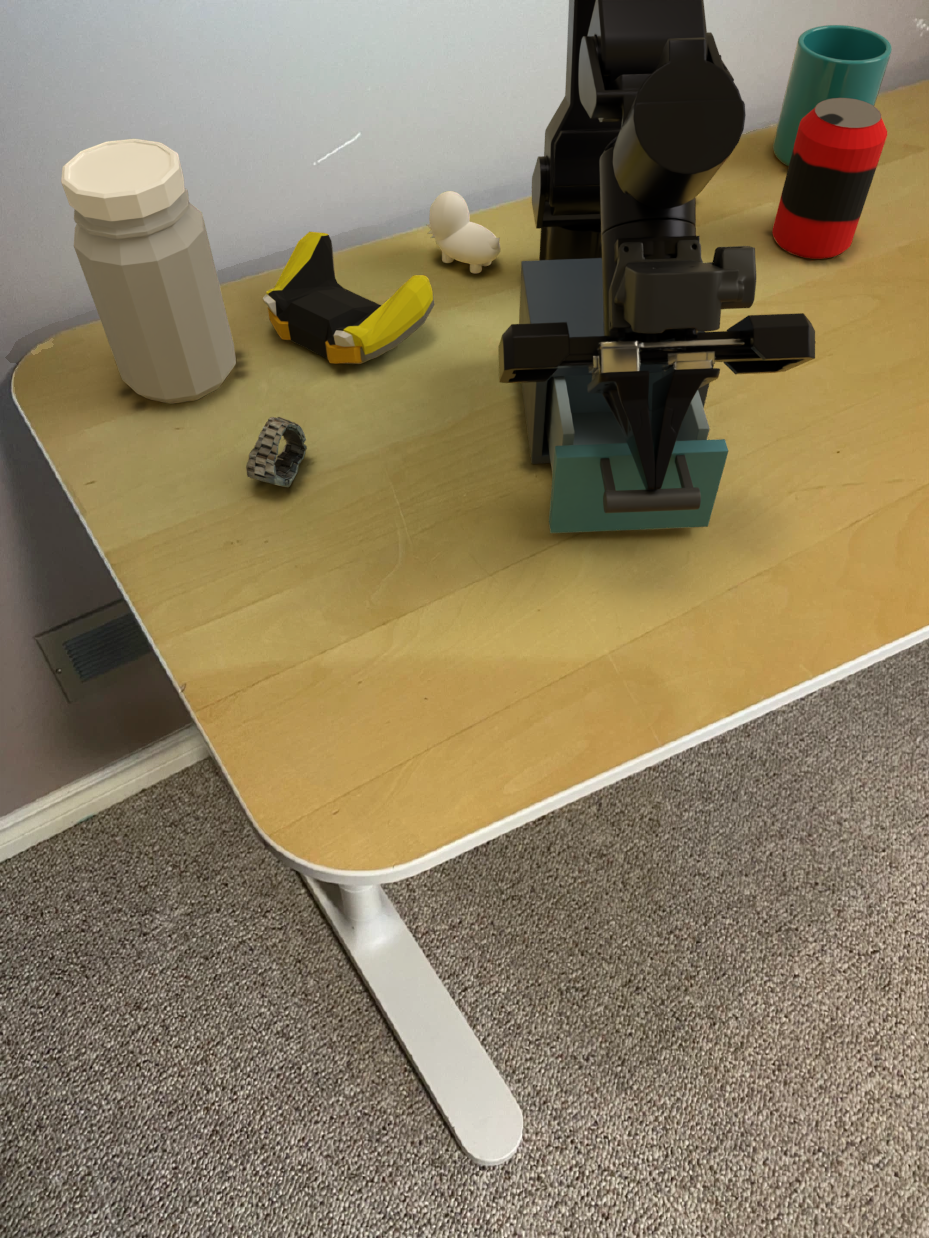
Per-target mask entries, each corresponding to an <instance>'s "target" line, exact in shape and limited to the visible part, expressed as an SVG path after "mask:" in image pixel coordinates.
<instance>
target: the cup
mask: <svg viewBox="0 0 929 1238" xmlns="http://www.w3.org/2000/svg"><path fill="white" fill-rule="evenodd" d="M892 50H893V47H892V44H891V42H890V40H888V39H887V38H886V37H885V36H883V35H881V34H880V33H877V32H875V31H873V30H870V29H867V28H863V27H859V26H854V25H846V24H845V25H844V24H827V25H820V26H815V27H812V28H808V29H806V30H804V32H802V33H800V35H799V36H798V38H797V42H796V47H795V49H794V53H793V59H792V63H791V66H790V72H789V75H788V79H787V84H786V87H785V88H786V89H785V93H784V97H783V101H782V104H781V108H780V113H779V117H778V121H777V126H776V128H775V129H776V130H775V133H774V137H773V143H772V150H773V154H774V155H775V157H776V159H778V161H780V162H781V163H782V164H784V165H785V166H787V167H789V163H790V159H791V155H792V151H793V148H794V144H795V140H796V136H797V132H798V128H799V124H800V121H801V120H802V118H803V117H805V116H806V115H807V114H808V113H809V112H810V111H812V110H813V109H814V108H815V107H816V105H817V104H819V103H820V102H822V101H824V100H827V99H833V98H850V99H856V100H860V101H864V102H866V103H869V104H871V105H873V106H874V107H876V103H877V99H878V97H879V93H880V90H881V86H882V84H883V80H884V77H885V74H886V71H887V67H888V64H889V61H890V57H891V54H892V52H893V51H892Z"/></svg>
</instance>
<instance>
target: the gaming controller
mask: <svg viewBox="0 0 929 1238" xmlns="http://www.w3.org/2000/svg"><path fill="white" fill-rule="evenodd" d="M262 301H263V302H264V303H265V305H266V306H267V313H268V319H269V321H270V323H271V325H272V327H273V328H274V330H275V332H276V334H277V335H278V336H279V337H280V339H281V340H282V341H283V340H286V341H291V342H292V343H294V344H297V345H298V346H300V347H303V349H306V350H307V351H310V352H313V353H314V354H316V355H319V356H321V357H322V358H325V359H326V360H328V362H329V364H347V365H348V364H350V365H361V364H364V363H366V362H368V361H370V360H373V359H376V358H378V357H380V356H382V355H384V354H385V353H387V352H389V351H391V350H393V349H395V348H397V347H398V346H399V345H400V344H401V343H402V342H404V341H405V340H407V338H409V337H410V336H411V335H413V333H414V332H415V331H417V330H418V329H420V327H422V326H423V325H424V324H425V322H426V321H427V320H428V317H429V315H430V314H431V312H432V311H433V308H434V306H435V296H434V292H433V288H432V285H431V282H430V279H429V277H427V276H426V275H421V274H420V275H419V274H418V275H417V274H415V275H414V274H413V275H412V276H411V277H410V278H409V279H408V280H407V281H405V282H404V283H403V284H402V285H401V286H400V287H399V288H398V289H397V290H396V291H395V292H394V293H393V294H392V296H390V297H389V298H388V299H387V300H386V301H385V302H383V303H382V304H379V303H378V302H376V301H373V300H371V299H370V298H369V299H368V298H366V297H364V296H362V295H360V294H358V293H355V292H353V291H351V290H350V289H349V290H348V289H346V288H344V287H343V286H342V285H341V284H340V283H339V282H338V281H337V278H336V273H335V261H334V248H333V242H332V239H331V237H330V234H329V233H326V232H319V231H308V232H307V233H306V234H305V235H304V236H303V237H302V238H300V239H299V240H298V241H297V243H296V245H295V247H294V249H293V250H292V253H291V255H290V257H289V258H288V260H287V262H286V264H285V266H284V268H283V270H282V272H281V274H280V276H279V277H278V280H277V282H276V283H275V285H274V287H273V288H270V289H268V290H267V291H265V295H264V296H263V297H262Z"/></svg>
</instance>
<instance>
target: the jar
mask: <svg viewBox="0 0 929 1238" xmlns="http://www.w3.org/2000/svg"><path fill="white" fill-rule="evenodd" d="M180 160H181V159H180V156H179V153H178V152H177V151H176V150H173V149H172V148H170V146H168V145H166V144H164V143H163V142H159V141H153V140H146V139H140V138H128V139H118V140H109V141H104V142H102V143H99V144H96V145H93V146H90V147H87V148H85V149H82V150H80V151H79V152H78V153H76V154H75V155H74V156H73V157H72V158H71V159H70V160H68V161H67V162H66V163H65V164H64V165H63V166H62V167H61V168H62V169H61V179H60V183H61V185H62V188H63V191H64V195H65V196H66V200H67V202H68V205H69V206H70V207H71V208H72V209H74V211H73V220H74V223H75V227H74V233H73V234H74V235H73V248H74V252H75V254H76V257H77V260H78V263H79V265H80V268H81V270H82V273H83V276H84V278H85V281H86V284H87V287H88V289H89V292H90V296H91V298H92V300H93V304H94V306H95V309H96V311H97V314H98V317H99V320H100V323H101V326H102V329H103V331H104V334H105V336H106V339H107V343H108V345H109V347H110V350H111V353H112V356H113V358H114V361H115V364H116V366H117V370H118V372H119V375H120V378H121V380H122V381H123V382H124V383H125V384H126V385H128V386H129V388H130V389H132V391H134V392H135V393H136V394H137V395H139V396H141V397H143V398H146V399H148V400H151V401H156V402H160V403H166V404H170V405H171V404H172V405H173V404H178V403H184V402H185V403H186V402H193V401H198V400H200V399H201V398H203V397H205V396H207V395H209V394H211V393H213V392H215V391H217V390H218V389H219V388H220V387H221V386H222V384H223V383H224V381H225V380H226V379H227V378H228V376H229V375H230V373H231V372H232V371H233V369H234V368H235V366H236V365H237V359H236V349H235V343H234V339H233V335H232V330H231V327H230V323H229V318H228V314H227V310H226V306H225V302H224V297H223V294H222V290H221V285H220V282H219V281H220V280H219V277H218V273H217V268H216V264H215V261H214V256H213V252H212V248H211V243H210V240H209V239H210V238H209V235H208V232H207V227H206V224H205V220H204V219H205V218H204V215H203V212H202V211H201V210H200V209H198V207H196V206H195V205H194V204H193V203H191V202H190V199H189V191H188V189H187V188H185V177H184V172H183V169H182V165H181V161H180Z"/></svg>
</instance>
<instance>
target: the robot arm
mask: <svg viewBox="0 0 929 1238" xmlns="http://www.w3.org/2000/svg"><path fill="white" fill-rule="evenodd" d="M707 29H708V28H707V21H706V11H705V3H704V0H568V15H567V38H566V39H567V40H566V62H565V63H566V64H565V66H566V67H565V88H564V89H565V90H564V97H563V99H562V100H561V102H560V104H559V105H558V107H557V109H556V111H555V112H554V114H553V116H552V117H551V120H550V121H549V123H548V125H547V126H546V128H545V131H544V143H543V144H544V147H543V155H542V156H541V155H539V156H537V158H536V162H535V165H534V169H533V172H532V175H531V207H532V212H533V218H534V219H533V220H534V225H535V229H540V236H539V253H538V257H539V258H538V260H564V259H591V258H602V280H603V321H604V336H587V337H569V330H568V325H567V322H557V323H531V324H519V323H511V324H510V325H509V326H508V327H507V328H506V330H505V331H504V332H503V333H502V335H501V338H500V340H499V344H498V348H497V349H498V351H497V353H498V354H497V357H498V359H497V361H498V383H500V384H501V383H502V384H521V383H528V382H546V381H547V380H548V379H549V378H550V377H551V376H552V375H553V374H554V373H555V372H556V370H557V369H558V368H576V367H589V373H592V381H591V382H590V383H589V384H588V385H587V390H588V393H600V394H602V395H603V397H604V399H605V401H606V402H607V404H608V406H609V408H610V410H611V411H612V413H613V415H614V417H615V419H616V420H617V422H618V424H619V426H620V428H621V430H622V432H623V434H624V437H625V439H626V440H627V444H628V446H629V449H630V451H631V454H632V456H633V459H634V462H635V464H636V467H637V469H638V472H639V474H640V477H641V479H642V482H643V484H644V487H645V489H646V490H659V489H661V487H662V485H663V481H664V478H665V475H666V472H667V468H668V465H669V462H670V459H671V455H672V452H673V449H674V446H675V442H676V439H677V436H678V433H679V430H680V427H681V424H682V421H683V419H684V417H685V414H686V412H687V410H688V408H689V406H690V403H691V401H692V399H693V397H694V396H695V394H696V392H697V391H698V389H699V388H700V387H702V386H704V385H706V384H708V383H709V384H710V383H713V382H715V381H716V380H718V379H719V377H720V373H721V368H719V367H714V366H715V364H716V363H723V364H724V365H725V366H726V367H727V368H728V369H729V370H730V371H731V372H732V373H733V374H734V375H757V374H759V375H760V374H776V373H785V372H788V371H789V370H792V369H794V368H796V367H798V366H801V365H803V364H805V363H808V362H810V361H813V360H815V359H816V330H815V327H814V326H813V324H812V322H811V321H810V319H809V318H808V317H807V316H806V314H805V313H803V312H800V313H799V312H797V313H775V314H773V313H771V314H770V313H769V314H749V315H747V316H745V317H743V318H742V319H741V320H739V321H738V322H736V323H734V324H733V325H732V326H730V327H728V329H726V330H725V331H724V330H722V331H719V329H720V328H721V327H720V326H721V315H722V310H736V309H750V308H751V307H752V306H753V304H754V302H755V299H756V287H757V260H756V247H754V246H750V245H733V246H731V245H730V246H717V247H716V248H715V250H714V254H713V257H712V261H711V262H710V261H709V262H708V261H707V262H704V261H703V257H702V245H701V236H700V235H697V221H696V220H697V217H696V216H697V214H696V213H697V211H696V209H697V207H696V198H697V196H698V195H699V194H701V192H703V190H704V189H705V188H706V187H707V185H708V184H709V182H711V180H712V179H713V178H714V176H716V174H717V173H718V171H719V170H720V169H721V167H722V166H723V165H724V164H725V162H726V161H727V160H728V158H729V157H730V156H731V155H732V153H733V152H734V150H735V149H736V147H737V146H738V144H739V143H740V140H741V137H742V135H743V132H744V130H745V123H746V115H747V114H746V103H745V101H744V100H743V99H742V96H741V93H740V90H739V88H738V86H737V84H735V83H736V82H735V79H734V77H733V75H732V73H731V71H730V70H729V69H728V67H727V66H726V64H725V62H724V61H723V59H722V55H721V54H720V52H719V49H718V45H717V43H716V40H715V37H714V35H713V33H712V32H711V31H710V32H709V31H708V30H707ZM672 348H674V349H672ZM678 348H680V349H678ZM654 364H661V370H662V378H661V379H659V380H658V381H656V382H655V383H653V391H652V418H651V422H650V413H649V407H648V406H649V404H648V393H649V371H640V365H654ZM713 365H714V366H713Z"/></svg>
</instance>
